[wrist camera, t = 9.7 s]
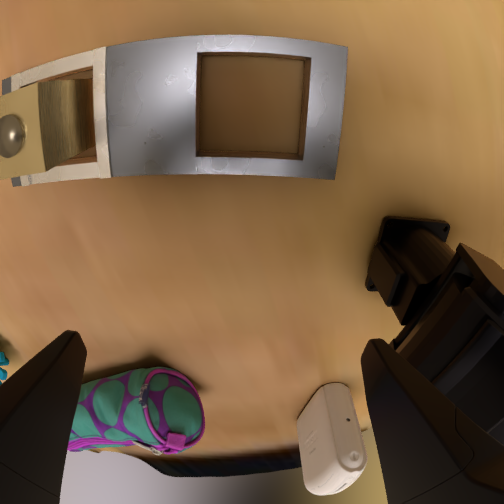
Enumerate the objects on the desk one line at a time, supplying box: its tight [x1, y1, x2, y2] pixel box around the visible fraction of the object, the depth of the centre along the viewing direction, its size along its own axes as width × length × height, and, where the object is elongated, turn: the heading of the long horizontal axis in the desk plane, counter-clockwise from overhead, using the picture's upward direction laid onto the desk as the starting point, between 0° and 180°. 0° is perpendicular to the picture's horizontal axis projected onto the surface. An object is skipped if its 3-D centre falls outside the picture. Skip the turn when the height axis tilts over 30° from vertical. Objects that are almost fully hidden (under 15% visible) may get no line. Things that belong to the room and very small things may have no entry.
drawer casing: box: [2, 35, 348, 187], centre depth 15 cm, size 22×8×2 cm, turn 87°
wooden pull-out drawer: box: [0, 79, 96, 180], centre depth 12 cm, size 4×4×7 cm
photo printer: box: [297, 383, 367, 495], centre depth 28 cm, size 10×4×12 cm, turn 168°
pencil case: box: [67, 367, 205, 455], centre depth 26 cm, size 21×9×10 cm, turn 118°
